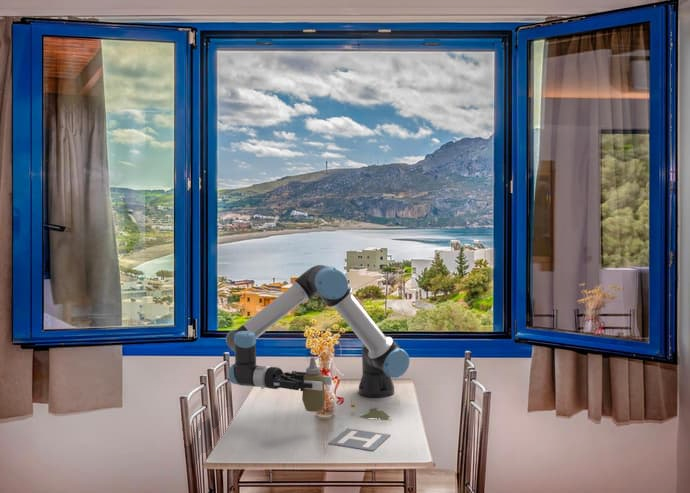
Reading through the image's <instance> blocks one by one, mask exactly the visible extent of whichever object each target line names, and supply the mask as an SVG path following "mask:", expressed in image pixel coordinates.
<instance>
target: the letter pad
mask: <svg viewBox="0 0 690 493" xmlns="http://www.w3.org/2000/svg"><path fill="white" fill-rule="evenodd" d="M390 437H391V434H390V433H388V434H387V433H382V432H375V431H368V430H361V429H354V428H350V427H349V428H346V429H345V430H343V431H342V432H341V433H339V434H338V435H337V436H336V437H334V438H333V439H332V440H330V441H329V442H328V445H334V446H338V447H339V446H340V447H345V448H350V449H351V448H352V449H357V450H364V451H369V452H375V450H377V448H379V447H380V446H381V445H382V444H383V443H384V442H385V441H387V439H389V438H390Z"/></svg>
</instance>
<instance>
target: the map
mask: <svg viewBox="0 0 690 493" xmlns="http://www.w3.org/2000/svg"><path fill="white" fill-rule="evenodd" d="M368 410H369V412H368V413H365V414H362V415H359V416H360V418H362V417H363V418H365V419H368V418H377V419H376V420H381V421H392V419H389V418H391V416H389V414H387V413H386V412H385V411H384V410H378V409H377V407H372V408H369V409H368ZM379 418H380V419H379Z"/></svg>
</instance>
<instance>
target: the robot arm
mask: <svg viewBox="0 0 690 493" xmlns="http://www.w3.org/2000/svg"><path fill="white" fill-rule="evenodd" d="M352 292H353V288H352V286H351V285H350V284H349V279H348V277H347V275H346V274H345V273H344V272H343V270H341V269H340V268H337V267H335V266H327V265H323V264H322V265H321V264H320V265H318V264H317V265H314V266H312V267H310V268H308V269H307V270H306V271H305V272H304V273H302V274H301V275H300V276H299V277H297V278H296V279H295V280H293V281H292V285H291V286H290V287H288V289H286V290H285V291H284V292H283V293H281V294H280V295H279V296H277V297H276V298H275V299H273V300H272V301H271V302H270V303H269V304H267V305H266V306H265V307H263V308H262V309H261V310H260V311H259V312H257V313H256V314H255V315H253V316H252V317H251V318H249V319H248V320H246V322H245V323H243V324H242V325H240V326H239V327H238V328H237V329H232V330H230V331H229V332H227V334H226V336H225V343H226V345H227V348H228V349H229V350H231V351H233V352H234V359H235V360H234V363H233V364H231V366H230V367H229V371H228V379H229V382H230V383H232V384H233V385H238V386H243V387H244V386H245V387H246V386H247V387H255V388H261V390H263V389H271V390H278V389H279V388H281V389H286V390H293V391H299V390H300V392H303V391H304V389H311V390H320V391H322V382H317V381H307V380H305V381H304V383H303V380H304V375H305V374H307V373H306V371H305V372H304V371H295V370H292V371H291V372H288V371H287V372H285V371H284V372H283V370H282V368H280V367H278V366H268V365H257V352H256V351H257V349H256V348H257V347H256V346H257V345H256V344H257V339H258V338H259V337H260V336H262V335H263V334H265V332H267V331H268V330H269V329H270V328H272V327H273V326H274V325H275V324H276V323H278V322H279V321H280V320H282V319H283V318H284V317H286V316H287V315H288V314H289V313H291V311H293V310H294V309H295V308H297V307H298V306H299V305H300V304H302V303H304V301H309V300H311V299H312V298H314V297H316V296H319V297H320V299H322V301H323V302H324V303H325V304H326V306H327V307H328V308H334V309H335V311H336V312H337V313H338V314H339V315H340V317H341V318H342V319H343V320H344V322H345V323H346V324H347V325H348V327H349V329H351V331H352V332H353V333H354V334H355V335H356V337H357V338H358V339H359V340H360V341H361V343H362V344H361V356H362V357H361V359H362V360H361V362H362V363H361V364H362V366H361V367H362V370H361V371H362V373H361V374H362V375H361V378H360V381H359V385H358V393H359V395H361V396H364V397H368V398H386V397H390V396H392V395H394V394H395V385H394V382H393V380H392V379H393V378H400V377H402V376H404V374H405V373H406V372H407V371H408V369H409V367H410V361H411V360H410V356H409V354H408V353H407V351H406V350H404V349H403V348H400V347H399V346H398V344H397V343H396V342H395V341H394V339H393V337H391V336H386V335H385V334H384V333H383V331H382V330H381V329H380V327H378V325H377V324H376V322H375V321H374V320H373V319H372V317H371V316H370V315H369V314H368V313H367V311H366V310H365V309H364V308H363V306H362V305H361V304H360V303H359V301H358V300H357V299H356V298H355V296H354V295H353V294H352ZM322 376H323V383H324V385H330V386H332V385H333V382H332V378H333V377H332V376H328V375H322Z"/></svg>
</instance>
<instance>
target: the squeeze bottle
mask: <svg viewBox="0 0 690 493" xmlns="http://www.w3.org/2000/svg"><path fill="white" fill-rule="evenodd" d="M305 370H306V371H305V372H306V373H307V374H305V375H304V380H303V383H304V381H305V380H307V381H317V382H322V391H320V390H311V389H304V391H302V404H303V405H304V409H305V411H307V412H313V413H314V412H320V411H322V410H323V409H324V406H325V402H326V392H325V384H324V383H323V376H324V375H323V374H322V373H320V372H321V368H320V367H319V366H317V364H316V359H315V356H314V357H313V356H312V357H310V362H309V365H308V367H306V369H305Z"/></svg>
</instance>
